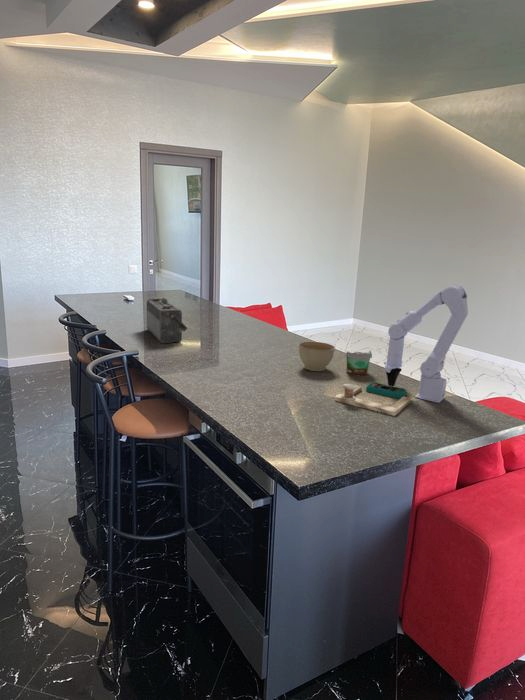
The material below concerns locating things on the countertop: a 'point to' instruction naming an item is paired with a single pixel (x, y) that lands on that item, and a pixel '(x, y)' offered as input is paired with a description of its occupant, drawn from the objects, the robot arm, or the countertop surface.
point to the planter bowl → (316, 355)
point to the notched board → (350, 399)
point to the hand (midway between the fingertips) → (391, 385)
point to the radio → (164, 320)
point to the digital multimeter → (386, 390)
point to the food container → (358, 363)
